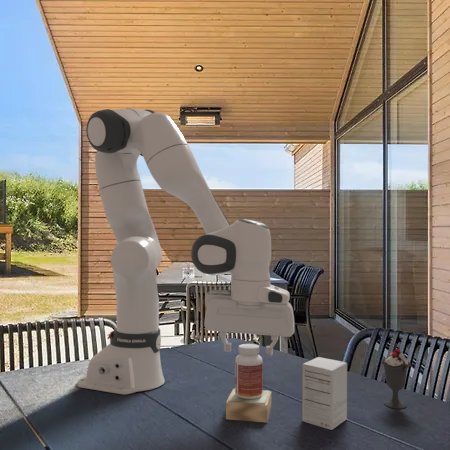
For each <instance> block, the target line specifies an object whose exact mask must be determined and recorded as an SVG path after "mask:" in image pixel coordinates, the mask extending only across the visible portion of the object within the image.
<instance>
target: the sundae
mask: <svg viewBox="0 0 450 450" xmlns="http://www.w3.org/2000/svg"><path fill="white" fill-rule="evenodd" d="M397 346H398V343H395V344H394V347H393V351H391V352H390V353H389V355H388V356H387V357H386V358H383V359H382V360H380V363H381V364H383V368H384V376H385V382H386V385H387V387H388V388H389V389H390V390H391V391H392V398H391V399H390V400H386V401H384V403H383V404H384V406H386V407H387V408H390V409H395V410H403V409H406V408H407V405H406V403H404V402H402V401H400V399H399V391H401V390H402V389H403V388H404V387H405V384H406V380H407V379H406V378H407V373H408V368H411V366H412V364H411V362H410V361H409V360H408V359H407V358H406V355H405V354H404V353H403V352H402V351H401V349H399V348H398V347H397Z"/></svg>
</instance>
